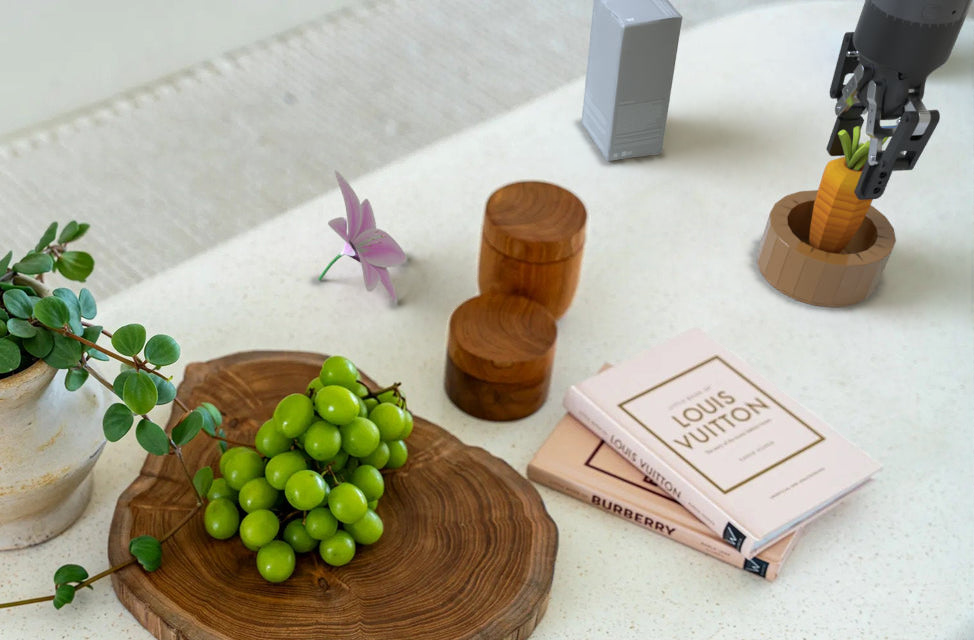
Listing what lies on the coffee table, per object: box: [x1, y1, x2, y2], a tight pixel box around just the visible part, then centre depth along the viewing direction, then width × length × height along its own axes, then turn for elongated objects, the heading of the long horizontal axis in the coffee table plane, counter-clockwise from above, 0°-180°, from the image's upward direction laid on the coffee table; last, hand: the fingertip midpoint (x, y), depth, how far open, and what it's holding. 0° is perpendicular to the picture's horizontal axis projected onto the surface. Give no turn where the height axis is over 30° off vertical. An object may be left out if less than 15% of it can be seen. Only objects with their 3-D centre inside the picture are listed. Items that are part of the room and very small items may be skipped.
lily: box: [317, 169, 408, 304], centre depth 105 cm, size 12×12×10 cm
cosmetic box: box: [580, 0, 683, 161], centre depth 119 cm, size 8×7×16 cm
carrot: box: [809, 126, 890, 254], centre depth 104 cm, size 5×5×15 cm
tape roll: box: [756, 189, 897, 308], centre depth 108 cm, size 11×11×5 cm
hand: (852, 174), depth 102 cm, fingers open, 6 cm apart
